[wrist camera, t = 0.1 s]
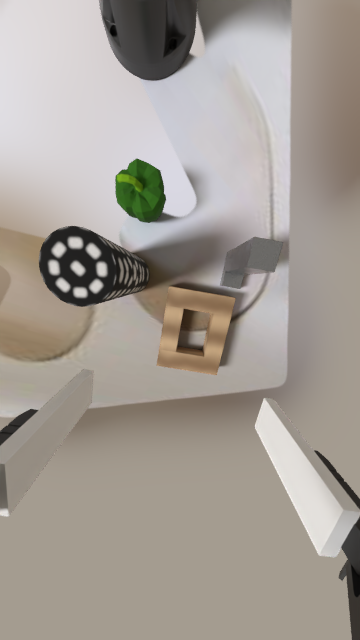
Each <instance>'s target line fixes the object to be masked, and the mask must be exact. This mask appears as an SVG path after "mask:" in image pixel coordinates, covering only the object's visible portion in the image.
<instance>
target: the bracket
mask: <svg viewBox="0 0 360 640" xmlns="http://www.w3.org/2000/svg"><path fill="white" fill-rule="evenodd" d="M282 244H283V242H279V241H274V240H269V239H263V238H258V237H253V238H252V239H250V240H248V241H246V242H245V243H243V244H241V245H240V246H238V247H236V248H234V249H233V250H231V251H229V252H228V253H227V256H226V260H225V265H224V269H223V274H222V278H221V283H220V285H221V286H226V287H232V288H237V289H240V288H241V284H242V280H243V276H244V275H246V274H259V273H271V272H275V268H276V265H277V261H278V258H279V254H280V251H281V247H282Z"/></svg>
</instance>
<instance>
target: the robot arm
mask: <svg viewBox="0 0 360 640" xmlns="http://www.w3.org/2000/svg"><path fill="white" fill-rule="evenodd" d="M99 3H100V10H101V15H102V20H103V23H104V27H105V30H106V33H107V37H108V40H109V43H110V45H111V48H112V50H113V52H114V54H115V56H116V58H117V59H118V61H119V62H120V63H121V64H122V65H123V66H124V68H126V69H127V70H128V71H129V72H130V73H132V74H133V75H135V76H137V77H139V78H142V79H147V80H157V79H161V78H164V77H167V76H169V75H170V74H172V73H173V72H175V71H176V70H177V69H178V68H179V67H180V66H181V64H182V63H183V62H184V60H185V59H186V57H187V55H188V53H189V51H190V49H191V46H192V43H193V39H194V35H195V28H196V12H197V0H99ZM93 373H94V371H91V370H84V369H83V370H82V371H81V372H80V373H79V374H78V375H77V376H76V377H74V378H73V379H72V380H71V381H70V382H69V383H68V384H67V385H66V386H65V387H64V388H62V389H61V390H60V391H59V392H58V393H57V394H56V395H55V396H54V397H53V398H52V399H51V400H49V401H48V402H47V403H46V404H45V405H44V406H43V407H42V408H41V409H40V410H34V409H30V410H28V411H26V412H24V413H23V414H21V415H19V416H18V417H16V418H15V419H14V420H13V421H12V422H10V423H9V425H8V426H6V427H4V428H3V429H2V430H1V431H0V515H1V516H9V515H10V514H11V513H12V511H13V510H14V509H15V507H16V506H17V504H18V503H19V502H20V500H21V499H22V498H23V496H24V495H25V493H26V492H27V491H28V489H29V488H30V487H31V485H32V484H33V482H34V481H35V480H36V478H37V477H38V476H39V474H40V472H41V471H42V470H43V469H44V467H45V466H46V465H47V463H48V462H49V460H50V459H51V458H52V456H53V455H54V453H55V452H56V451H57V449H58V448H59V446H60V445H61V444H62V442H63V441H64V440H65V438H66V437H67V436H68V434H69V433H70V431H71V430H72V429H73V427H74V426H75V425H76V423H77V422H78V420H79V419H80V418H81V416H82V415H83V414H84V412H85V411H86V409H87V408H88V407H89V405H90V404H91V403H92V388H93ZM255 429H256V431H257V433H258V435H259V436H260V439H261V441H262V443H263V445H264V447H265V449H266V451H267V453H268V455H269V457H270V459H271V461H272V463H273V465H274V467H275V469H276V471H277V473H278V475H279V477H280V479H281V481H282V483H283V485H284V487H285V489H286V491H287V492H288V495H289V497H290V499H291V501H292V503H293V505H294V507H295V508H296V510H297V513H298V514H299V517H300V519H301V521H302V523H303V524H304V526H305V529H306V531H307V533H308V535H309V537H310V538H311V541H312V542H313V544H314V546H315V548H316V550H317V552H318V554H319V555H320V556H328V557H336V556H337V554H338V553H339V551H340V549H341V548H342V550H343V551H344V553H345V554H346V556H347V558H348V560H347V561H346V563H345V565H344V567H343V568H342V570H341V571H340V574H339V578H340V579H341V580H343V579H344V577H345V576H346V575H347V587H348V598H349V610H350V622H351V633H352V640H360V499H359V498H358V496H357V495H356V494H355V493H354V491H353V490H352V489H351V488H350V487H349V485H348V484H347V483H346V482H344V479H343V478H342V477H341V475H340V474H339V473H337V471H336V469H335V468H334V467H333V466H332V465H331V463H330V462H329V461H328V460H327V459H326V458H325V457H324V456H323V455H322V454H320V453H319V452H318V451H314V450H313V449H312V448H311V446H310V445H309V444H308V443H307V441H306V440H305V439H304V438H303V436H302V435H301V434H300V432H299V431H298V430H297V428H296V427H295V426H294V425H293V424H292V422H291V421H290V420H289V418H288V417H287V416H286V415H285V413H284V412H283V411H282V409H281V408H280V407H279V406H278V404H277V403H276V402H275V400H274V399H269V398H264V400H263V403H262V406H261V409H260V412H259V415H258V418H257V421H256V424H255Z"/></svg>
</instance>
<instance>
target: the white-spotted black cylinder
mask: <svg viewBox="0 0 360 640" xmlns="http://www.w3.org/2000/svg"><path fill="white" fill-rule="evenodd" d="M39 268H40V272H41V276H42V278H43V280H44V282H45V284H46V285H47V287H48V288H49V290H50V291H51V292H52V293H53V294H54V295H55V296H56V297H58V298H59V299H60V300H62V301H64V302H66V303H68V304H71V305H74V306H81V307H83V306H91V305H95V304H98V303H102V302H105V301H109V300H112V299H116V298H119V297H123V296H126V295H129V294H133V293H136V292H139V291H141V290H142V289H144V288H145V286H146V285H147V283H148V280H149V269H148V267H147V265H146V263H145V262H144V260H142V259H141V258H140V257H138V256H136V255H135V254H133V253H131V252H129V251H127V250H125V249H124V248H122V247H120V246H118V245H116V244H114V243H113V242H111V241H109V240H107V239H105V238H103V237H101V236H100V235H98V234H96V233H94V232H92V231H91V230H88V229H85V228H83V227H77V226H68V227H63V228H60V229H58V230H56V231H54V232H53V233H51V234H50V235H49V236H48V237H47V238H46V240H45V241H44V243H43V245H42V247H41V250H40V255H39Z"/></svg>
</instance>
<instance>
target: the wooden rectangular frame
mask: <svg viewBox="0 0 360 640" xmlns="http://www.w3.org/2000/svg"><path fill="white" fill-rule="evenodd" d="M235 299H236V298H234V297H231V296H225V295H219V294H214V293H208V292H202V291H197V290H191V289H185V288H180V287H174V286H169V290H168V296H167V303H166V309H165V315H164V322H163V328H162V335H161V341H160V347H159V354H158V360H157V366H163V367H169V368H175V369H181V370H188V371H194V372H200V373H206V374H213V375H217V372H218V368H219V364H220V360H221V356H222V352H223V348H224V344H225V339H226V335H227V331H228V327H229V323H230V319H231V315H232V311H233V307H234V303H235ZM183 309H189V310H195V311H201V312H206V313H210V318H209V322H208V327H207V332H206V336H205V341H204V345H203V350H196V349H190V348H184V347H178V346H177V343H178V337H179V332H180V326H181V320H182V315H183Z"/></svg>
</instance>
